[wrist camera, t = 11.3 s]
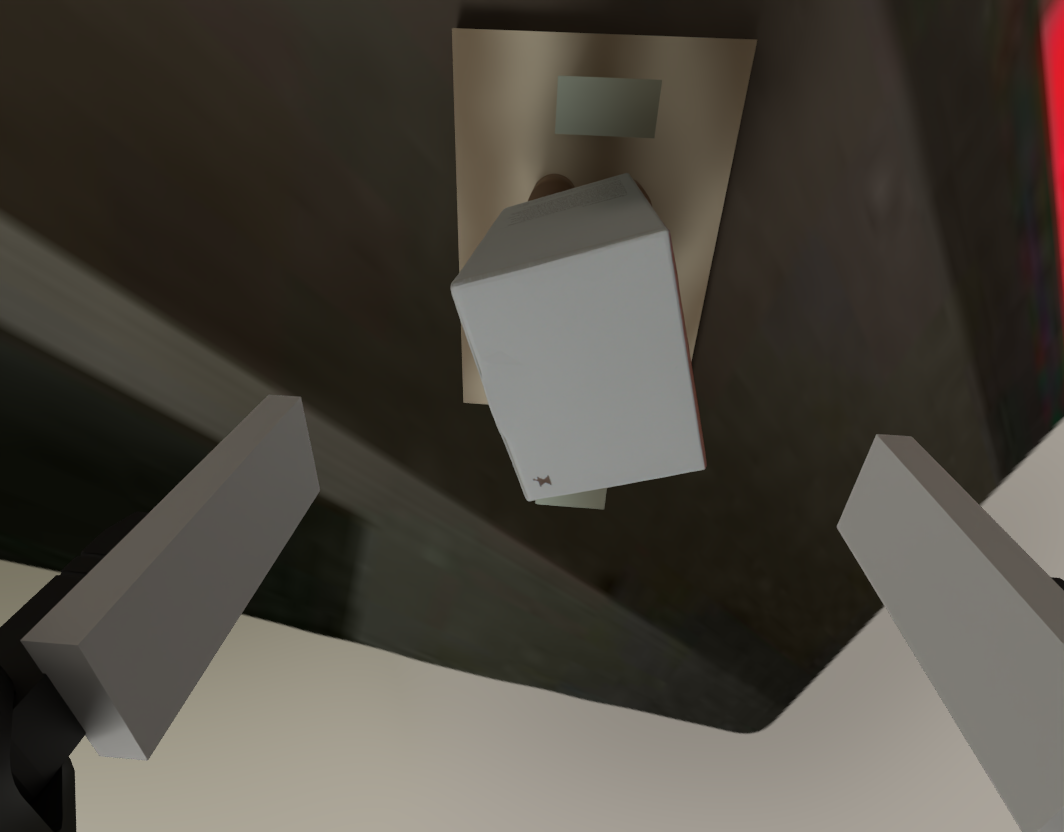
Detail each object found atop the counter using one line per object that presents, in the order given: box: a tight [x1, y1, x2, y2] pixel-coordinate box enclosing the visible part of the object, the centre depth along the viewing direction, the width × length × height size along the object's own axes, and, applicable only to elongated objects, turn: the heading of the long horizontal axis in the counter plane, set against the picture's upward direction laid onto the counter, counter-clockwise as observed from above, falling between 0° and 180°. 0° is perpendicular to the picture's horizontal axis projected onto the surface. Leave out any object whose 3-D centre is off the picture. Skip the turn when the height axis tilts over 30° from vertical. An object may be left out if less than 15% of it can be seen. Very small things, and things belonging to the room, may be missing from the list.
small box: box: [451, 173, 707, 501], centre depth 22 cm, size 8×6×13 cm
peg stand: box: [452, 28, 757, 509], centre depth 25 cm, size 14×20×13 cm
